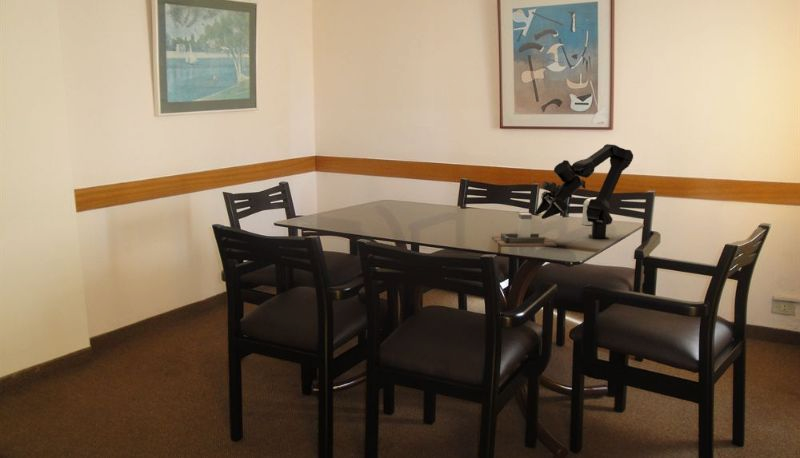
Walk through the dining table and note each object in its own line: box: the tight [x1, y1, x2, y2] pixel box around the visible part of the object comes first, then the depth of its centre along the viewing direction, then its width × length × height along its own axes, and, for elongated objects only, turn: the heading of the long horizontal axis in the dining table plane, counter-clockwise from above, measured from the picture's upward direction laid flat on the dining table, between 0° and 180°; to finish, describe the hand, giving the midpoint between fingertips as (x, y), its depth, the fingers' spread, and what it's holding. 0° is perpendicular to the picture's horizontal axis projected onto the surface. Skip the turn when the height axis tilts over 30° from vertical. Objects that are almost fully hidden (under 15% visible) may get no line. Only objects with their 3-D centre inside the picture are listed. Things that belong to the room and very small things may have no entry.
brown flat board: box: [491, 233, 557, 247], centre depth 282 cm, size 16×22×2 cm
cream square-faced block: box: [517, 212, 533, 238], centre depth 281 cm, size 5×4×11 cm
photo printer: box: [581, 196, 597, 226], centre depth 322 cm, size 10×4×12 cm, turn 123°
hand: (538, 216), depth 280 cm, fingers open, 9 cm apart
